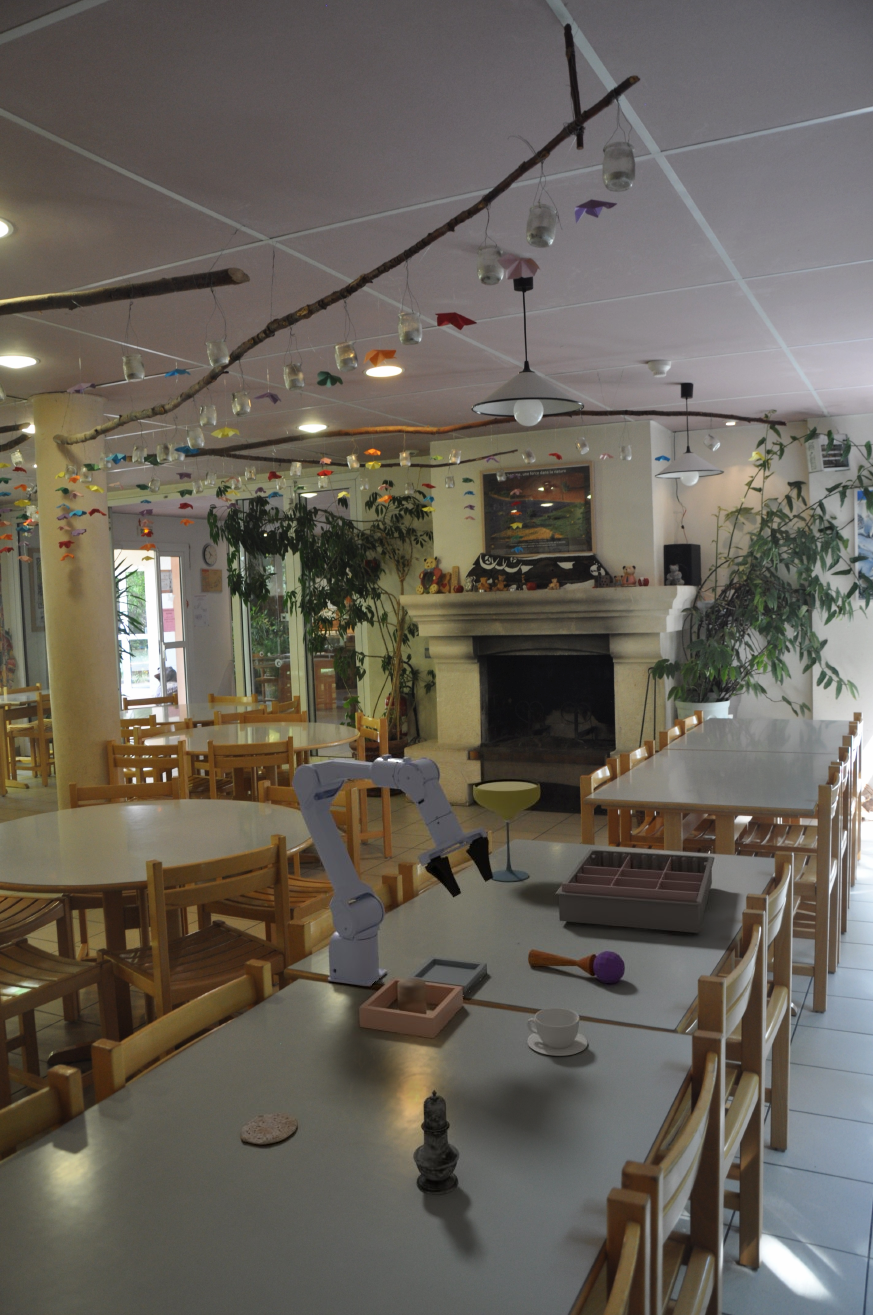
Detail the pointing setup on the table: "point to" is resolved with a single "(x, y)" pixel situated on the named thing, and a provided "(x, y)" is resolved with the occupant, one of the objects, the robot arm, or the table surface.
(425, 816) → the robot arm
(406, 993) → the brown rounded cylinder
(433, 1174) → the salt shaker
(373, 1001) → the holder
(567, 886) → the organizer tray
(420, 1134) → the table surface
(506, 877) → the cocktail glass
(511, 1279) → the table surface
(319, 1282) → the table surface
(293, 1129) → the flatbread
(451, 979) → the tray
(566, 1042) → the teacup
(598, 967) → the kendama
